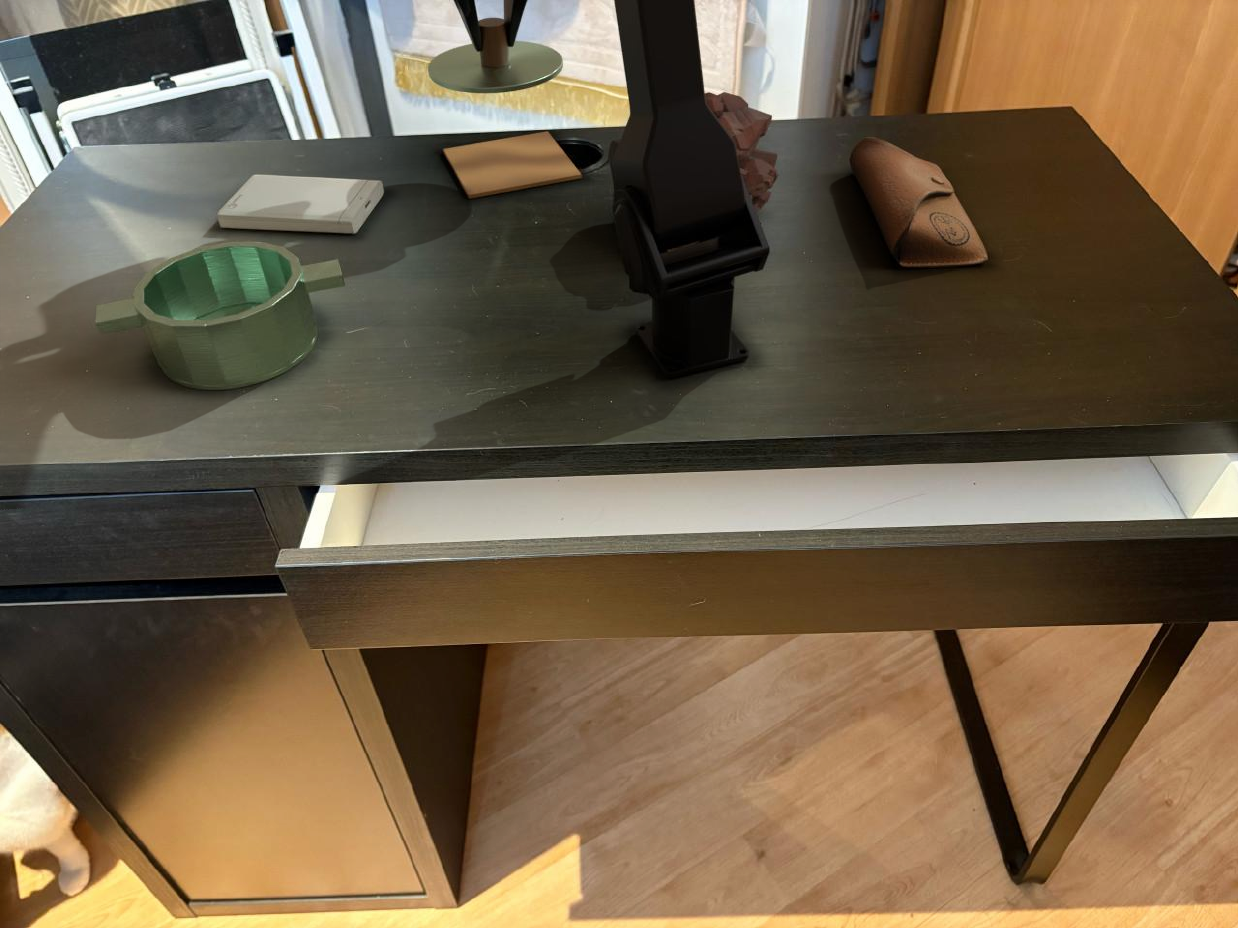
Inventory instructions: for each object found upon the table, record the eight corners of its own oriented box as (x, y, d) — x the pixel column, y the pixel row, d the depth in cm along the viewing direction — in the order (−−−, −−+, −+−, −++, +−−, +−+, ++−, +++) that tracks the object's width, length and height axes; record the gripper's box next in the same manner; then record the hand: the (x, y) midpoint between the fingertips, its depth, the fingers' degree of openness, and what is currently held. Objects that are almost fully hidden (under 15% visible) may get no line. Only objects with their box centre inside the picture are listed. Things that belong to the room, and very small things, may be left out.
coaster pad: (581, 178, 91) (581, 174, 91) (469, 199, 88) (468, 195, 88) (547, 135, 99) (547, 131, 99) (443, 152, 96) (442, 149, 96)
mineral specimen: (626, 271, 87) (758, 184, 89) (682, 293, 76) (832, 194, 78) (564, 155, 82) (706, 65, 84) (614, 160, 71) (777, 57, 72)
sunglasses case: (997, 259, 77) (970, 194, 73) (914, 301, 79) (884, 240, 75) (936, 164, 90) (910, 104, 87) (866, 201, 93) (838, 145, 89)
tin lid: (581, 87, 85) (578, 33, 82) (445, 109, 82) (437, 53, 79) (541, 45, 93) (537, -6, 90) (417, 63, 90) (409, 11, 87)
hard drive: (215, 213, 84) (350, 218, 82) (254, 172, 90) (381, 176, 89) (221, 230, 85) (354, 236, 84) (259, 189, 91) (384, 193, 90)
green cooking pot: (365, 360, 70) (349, 296, 66) (118, 414, 65) (88, 349, 62) (342, 284, 78) (327, 223, 74) (122, 328, 74) (95, 266, 70)
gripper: (554, -181, 83) (565, 9, 94) (338, -163, 79) (375, 35, 89) (597, -162, 75) (603, 44, 86) (359, -139, 71) (397, 75, 81)
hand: (494, 48), depth 86 cm, fingers closed on tin lid, 3 cm apart
